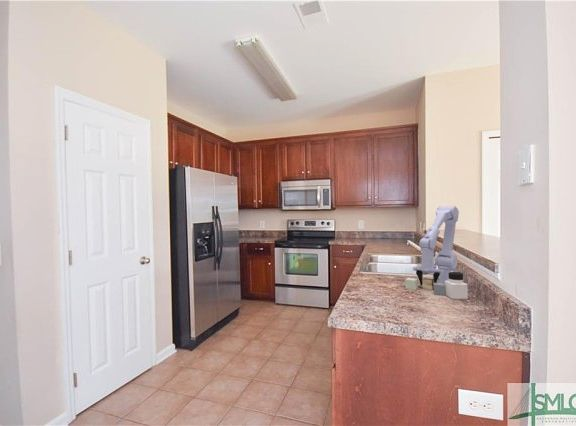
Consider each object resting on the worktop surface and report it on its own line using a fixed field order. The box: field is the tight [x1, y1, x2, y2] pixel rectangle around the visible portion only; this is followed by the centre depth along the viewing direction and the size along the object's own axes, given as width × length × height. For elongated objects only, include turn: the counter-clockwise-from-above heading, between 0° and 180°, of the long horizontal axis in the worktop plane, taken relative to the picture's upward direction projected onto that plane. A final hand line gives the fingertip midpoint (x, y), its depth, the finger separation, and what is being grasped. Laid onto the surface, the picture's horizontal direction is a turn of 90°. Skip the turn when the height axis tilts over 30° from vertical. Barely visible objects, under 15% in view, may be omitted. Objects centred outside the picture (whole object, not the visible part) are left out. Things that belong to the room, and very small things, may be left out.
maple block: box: [421, 277, 434, 291], centre depth 150 cm, size 4×4×5 cm
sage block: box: [405, 277, 419, 291], centre depth 151 cm, size 5×5×5 cm
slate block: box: [433, 282, 446, 296], centre depth 140 cm, size 4×4×5 cm
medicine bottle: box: [445, 270, 469, 300], centre depth 134 cm, size 7×7×12 cm
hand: (428, 285), depth 150 cm, fingers open, 6 cm apart
